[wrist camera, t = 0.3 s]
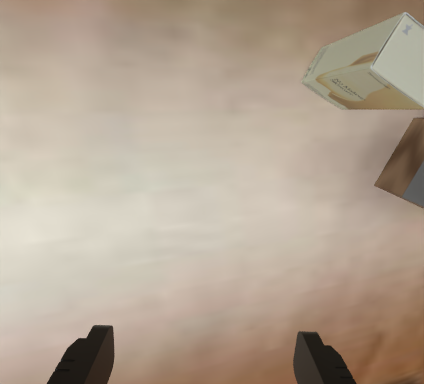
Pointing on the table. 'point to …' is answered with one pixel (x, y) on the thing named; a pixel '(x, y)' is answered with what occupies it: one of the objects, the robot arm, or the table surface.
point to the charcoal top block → (416, 188)
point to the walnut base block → (404, 161)
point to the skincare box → (373, 67)
